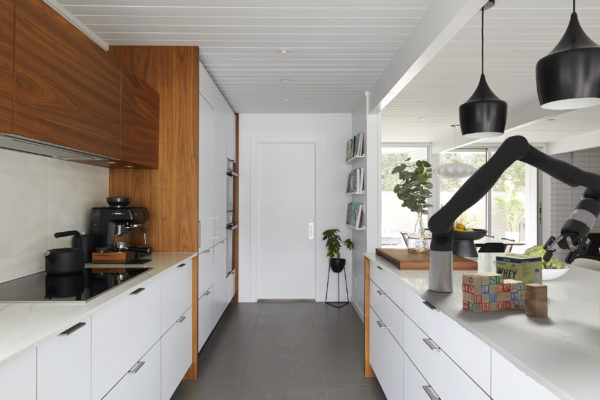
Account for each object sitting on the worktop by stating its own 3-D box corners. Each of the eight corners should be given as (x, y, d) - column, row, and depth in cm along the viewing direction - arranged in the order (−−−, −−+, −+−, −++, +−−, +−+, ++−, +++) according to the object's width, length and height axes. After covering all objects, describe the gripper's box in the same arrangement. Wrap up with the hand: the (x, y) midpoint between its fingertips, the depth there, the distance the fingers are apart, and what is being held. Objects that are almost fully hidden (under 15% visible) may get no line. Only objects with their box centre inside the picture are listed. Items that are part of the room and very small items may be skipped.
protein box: (495, 293, 160) (495, 256, 160) (518, 289, 167) (518, 253, 167) (519, 298, 150) (519, 258, 151) (543, 294, 158) (542, 256, 158)
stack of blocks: (511, 304, 142) (511, 270, 143) (525, 308, 136) (524, 273, 137) (462, 308, 137) (461, 273, 137) (474, 312, 131) (474, 276, 131)
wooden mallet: (510, 309, 134) (510, 281, 134) (521, 308, 135) (520, 280, 136) (536, 317, 124) (535, 286, 125) (547, 316, 126) (547, 285, 126)
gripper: (553, 218, 140) (531, 253, 137) (591, 217, 126) (567, 256, 123) (566, 232, 141) (545, 266, 138) (605, 232, 127) (583, 270, 124)
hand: (556, 261), depth 130 cm, fingers open, 8 cm apart
